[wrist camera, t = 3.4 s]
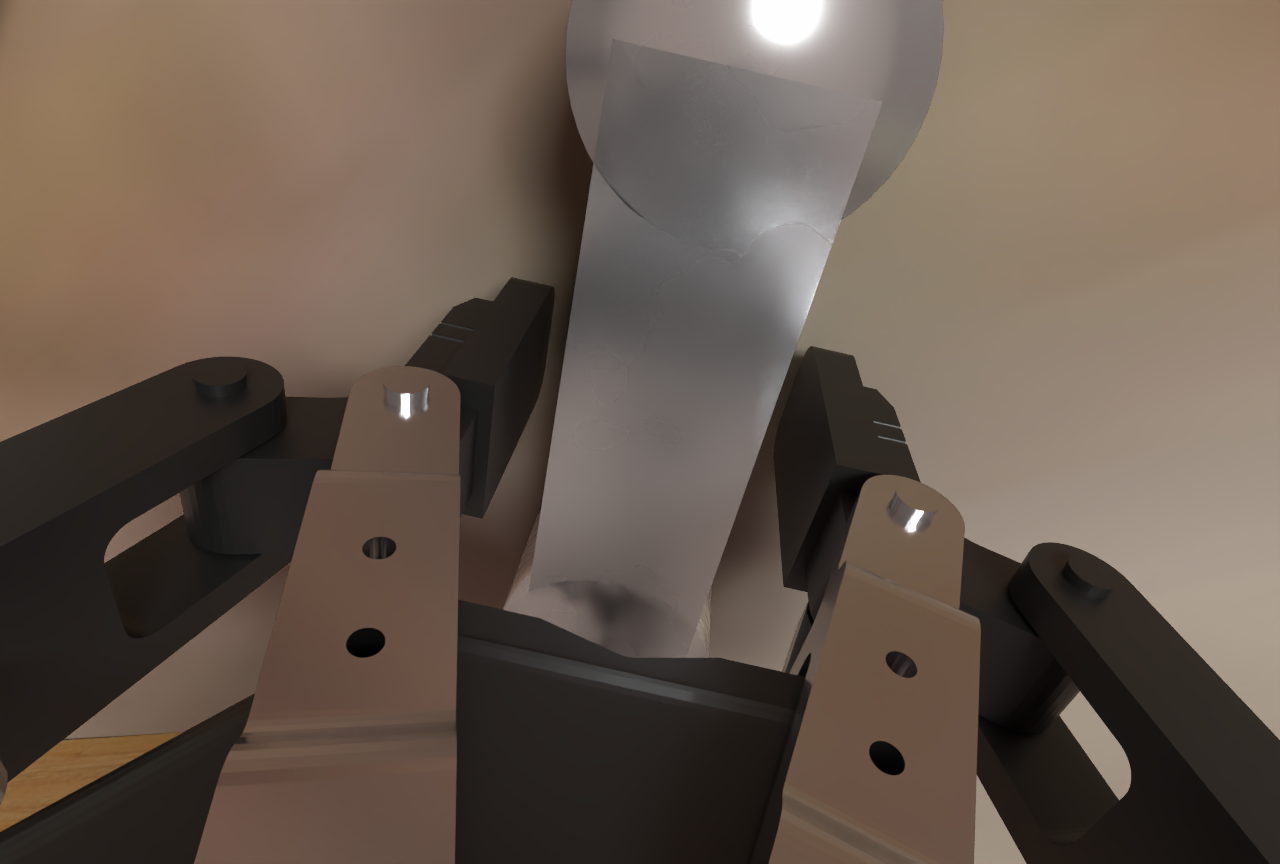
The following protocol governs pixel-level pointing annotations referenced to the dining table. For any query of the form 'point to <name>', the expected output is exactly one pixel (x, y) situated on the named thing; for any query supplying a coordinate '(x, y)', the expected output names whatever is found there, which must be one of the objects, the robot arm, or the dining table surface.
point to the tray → (70, 771)
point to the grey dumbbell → (700, 279)
